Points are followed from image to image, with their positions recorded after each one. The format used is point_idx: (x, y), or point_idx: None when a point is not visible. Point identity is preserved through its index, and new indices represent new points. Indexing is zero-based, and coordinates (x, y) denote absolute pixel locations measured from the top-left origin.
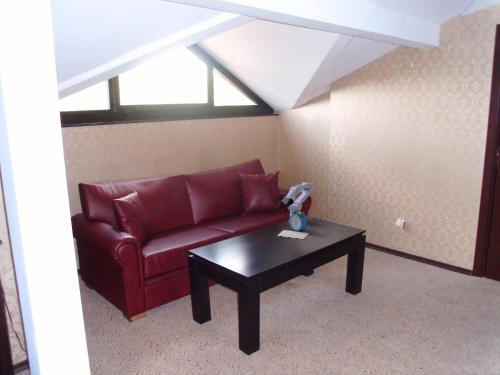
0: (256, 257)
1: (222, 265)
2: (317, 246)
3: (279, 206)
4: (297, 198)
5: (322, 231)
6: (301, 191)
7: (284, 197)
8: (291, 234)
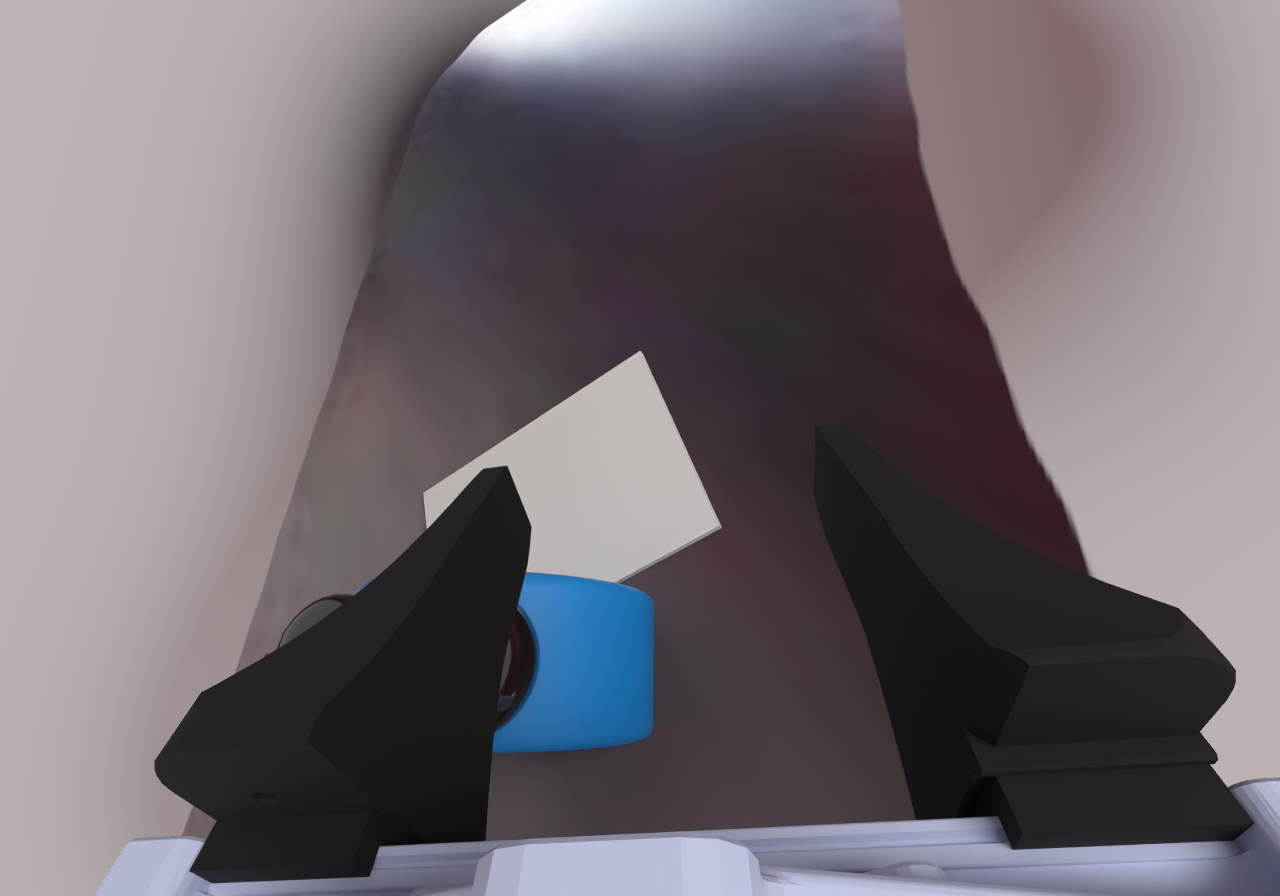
0: (505, 109)
1: None
2: (314, 472)
3: (825, 455)
4: None
5: None
6: None
7: (743, 851)
8: (555, 487)
